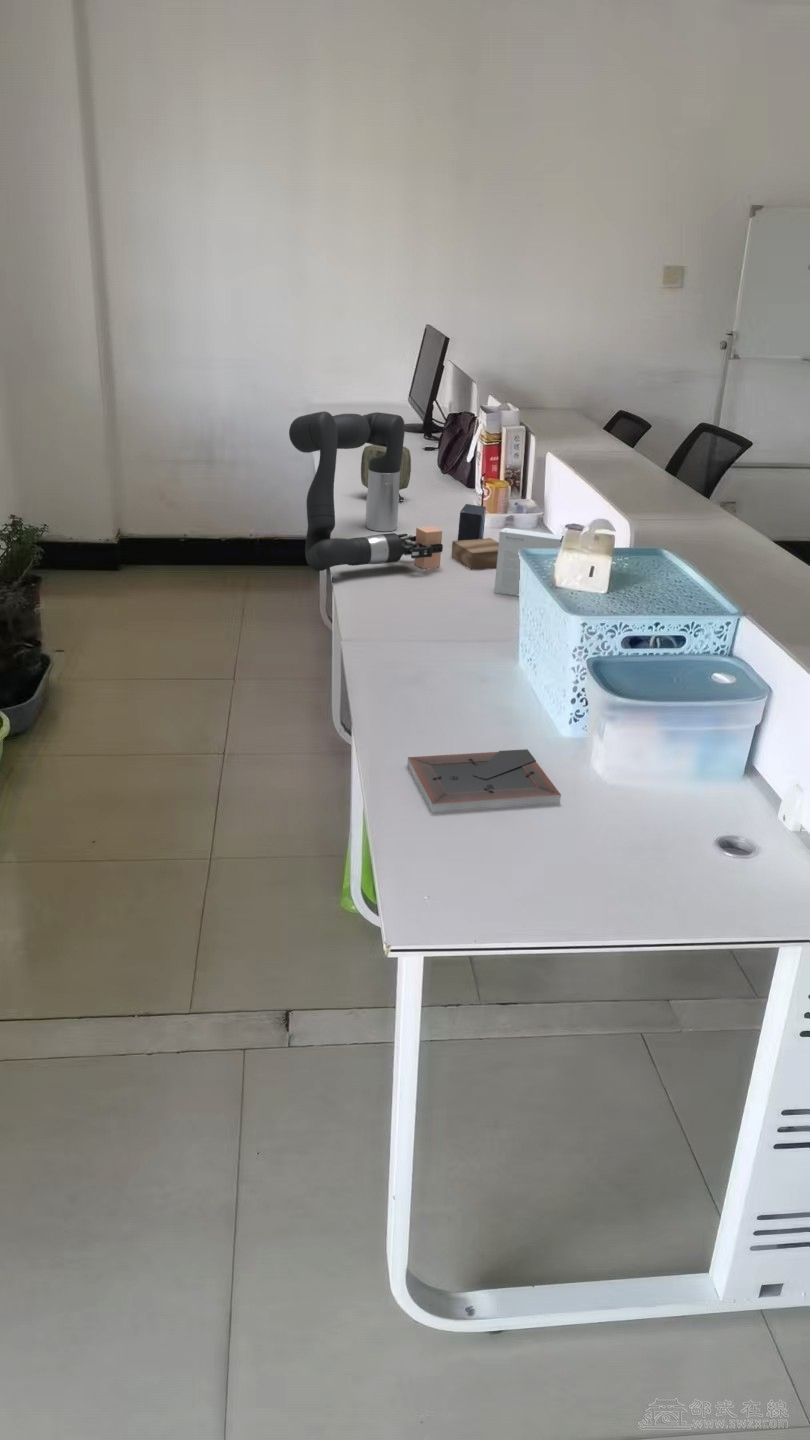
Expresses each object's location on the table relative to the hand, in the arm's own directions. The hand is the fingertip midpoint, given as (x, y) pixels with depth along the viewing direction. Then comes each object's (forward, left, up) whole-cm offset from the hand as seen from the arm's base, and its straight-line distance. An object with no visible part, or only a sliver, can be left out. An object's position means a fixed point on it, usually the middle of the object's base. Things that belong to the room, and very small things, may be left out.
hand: (433, 543), depth 295 cm
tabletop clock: (-68, +22, -6) cm, 72 cm away
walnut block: (+2, +14, -6) cm, 16 cm away
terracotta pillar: (0, -2, -6) cm, 6 cm away
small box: (-14, +21, -6) cm, 26 cm away
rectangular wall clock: (+111, -57, -7) cm, 125 cm away
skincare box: (+32, +11, -6) cm, 35 cm away
